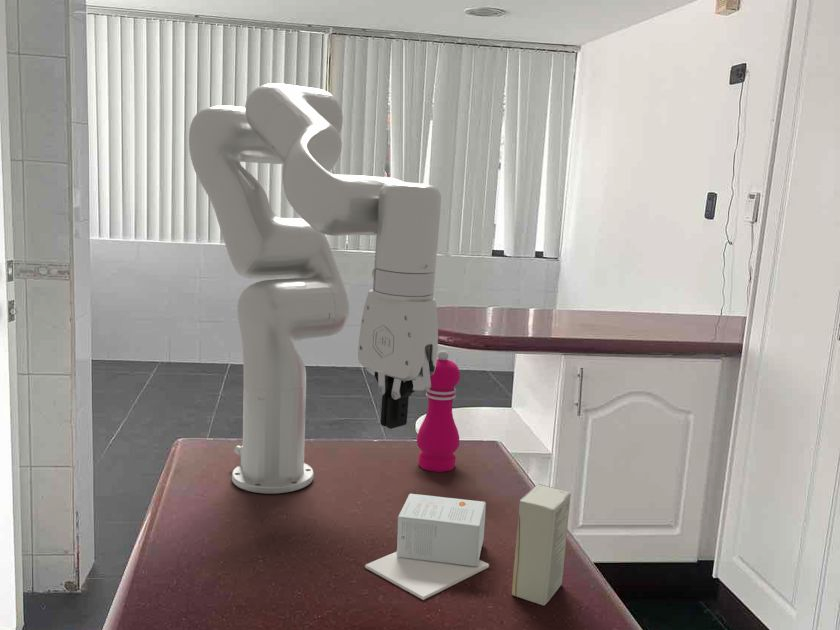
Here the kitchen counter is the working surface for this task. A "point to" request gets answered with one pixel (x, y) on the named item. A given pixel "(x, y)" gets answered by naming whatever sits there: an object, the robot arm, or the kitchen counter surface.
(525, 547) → the skincare box
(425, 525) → the small box
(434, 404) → the pepper mill
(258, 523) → the kitchen counter surface
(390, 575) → the mat
